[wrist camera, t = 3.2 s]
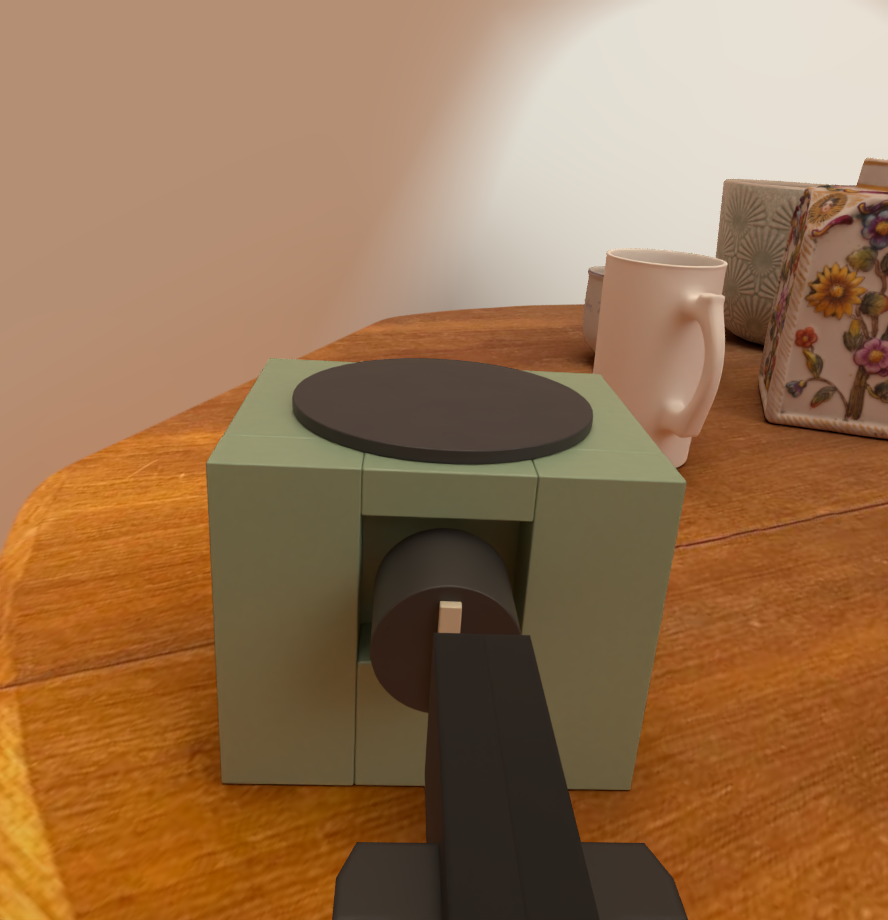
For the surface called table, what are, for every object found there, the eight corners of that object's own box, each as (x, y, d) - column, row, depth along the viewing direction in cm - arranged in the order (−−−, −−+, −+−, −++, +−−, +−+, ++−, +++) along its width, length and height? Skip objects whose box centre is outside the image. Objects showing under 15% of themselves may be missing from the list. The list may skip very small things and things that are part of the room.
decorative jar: (755, 382, 69) (802, 153, 63) (907, 402, 66) (974, 164, 60) (762, 424, 58) (820, 154, 52) (944, 451, 55) (1030, 167, 49)
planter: (813, 371, 74) (855, 193, 68) (663, 330, 86) (688, 177, 81) (904, 352, 84) (947, 195, 78) (758, 318, 96) (786, 180, 90)
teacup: (560, 349, 76) (570, 260, 73) (668, 349, 78) (682, 264, 75) (621, 394, 63) (637, 290, 60) (748, 394, 66) (768, 293, 63)
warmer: (221, 784, 24) (204, 447, 20) (273, 600, 33) (268, 346, 29) (630, 791, 25) (690, 467, 21) (569, 609, 34) (602, 363, 30)
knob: (367, 720, 20) (371, 589, 18) (372, 642, 23) (376, 524, 21) (517, 724, 20) (532, 594, 19) (502, 646, 23) (514, 529, 22)
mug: (563, 436, 54) (586, 246, 49) (655, 432, 55) (685, 249, 51) (639, 500, 45) (676, 276, 40) (745, 492, 47) (791, 278, 42)
